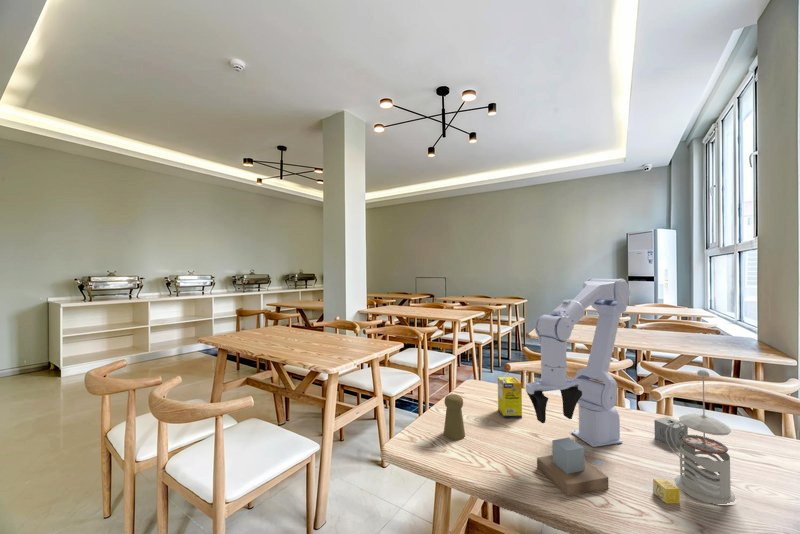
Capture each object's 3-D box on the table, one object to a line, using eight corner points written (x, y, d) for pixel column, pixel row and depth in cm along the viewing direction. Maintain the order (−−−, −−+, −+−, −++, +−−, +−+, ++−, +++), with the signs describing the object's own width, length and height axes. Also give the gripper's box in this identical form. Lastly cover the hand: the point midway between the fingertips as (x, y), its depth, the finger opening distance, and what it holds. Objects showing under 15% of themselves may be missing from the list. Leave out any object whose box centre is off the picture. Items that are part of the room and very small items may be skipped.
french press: (722, 512, 63) (720, 380, 63) (655, 477, 74) (653, 364, 74) (748, 497, 67) (746, 373, 67) (680, 466, 78) (679, 359, 78)
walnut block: (573, 464, 80) (573, 451, 80) (608, 491, 70) (608, 477, 70) (537, 470, 78) (536, 457, 78) (567, 499, 68) (567, 484, 68)
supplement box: (522, 418, 103) (522, 382, 103) (503, 418, 103) (502, 383, 103) (516, 409, 109) (515, 376, 109) (497, 410, 109) (497, 376, 109)
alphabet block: (666, 492, 69) (666, 478, 69) (680, 503, 66) (680, 488, 66) (652, 493, 69) (652, 478, 69) (665, 504, 66) (665, 488, 66)
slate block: (569, 458, 77) (568, 437, 77) (584, 470, 73) (584, 447, 73) (552, 462, 76) (552, 440, 76) (567, 473, 72) (566, 450, 72)
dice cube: (687, 443, 87) (687, 424, 87) (675, 447, 86) (675, 428, 86) (666, 434, 92) (666, 416, 92) (654, 438, 90) (654, 419, 90)
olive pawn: (441, 438, 92) (440, 398, 92) (446, 428, 98) (445, 390, 98) (462, 442, 90) (462, 401, 90) (467, 431, 95) (466, 393, 95)
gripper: (567, 357, 88) (568, 409, 88) (518, 362, 84) (519, 415, 84) (588, 365, 81) (589, 421, 81) (535, 370, 77) (536, 429, 77)
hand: (554, 419), depth 82 cm, fingers open, 7 cm apart
